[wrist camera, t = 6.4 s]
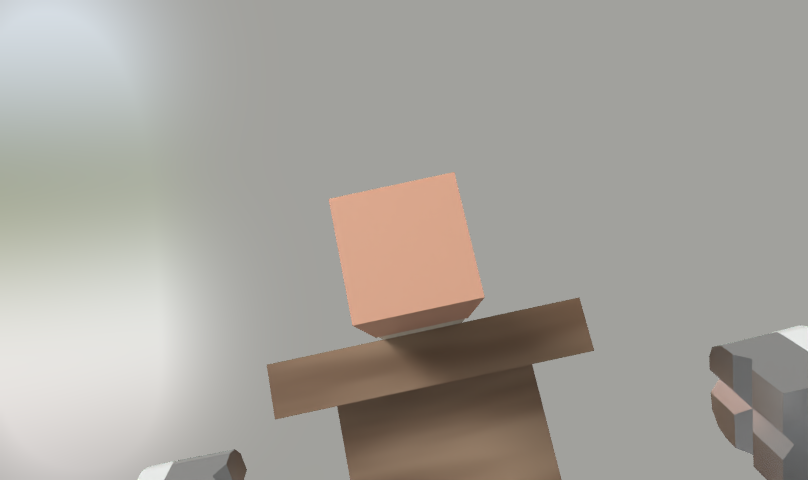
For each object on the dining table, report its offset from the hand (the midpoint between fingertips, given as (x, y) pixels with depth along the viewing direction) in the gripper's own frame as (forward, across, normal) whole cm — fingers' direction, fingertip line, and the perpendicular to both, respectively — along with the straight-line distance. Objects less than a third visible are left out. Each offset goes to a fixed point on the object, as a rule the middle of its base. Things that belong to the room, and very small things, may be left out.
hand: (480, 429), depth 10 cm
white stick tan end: (+14, -1, -6) cm, 15 cm away
